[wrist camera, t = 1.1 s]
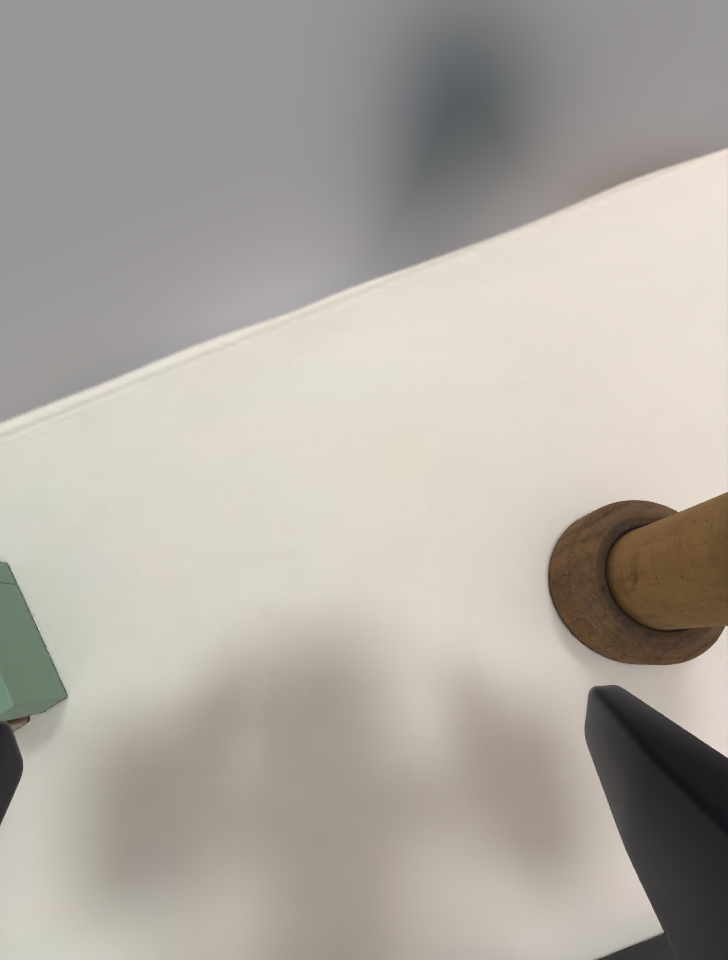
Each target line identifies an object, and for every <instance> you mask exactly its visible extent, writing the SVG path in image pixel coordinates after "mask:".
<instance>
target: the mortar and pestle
mask: <svg viewBox="0 0 728 960" xmlns="http://www.w3.org/2000/svg"><path fill="white" fill-rule="evenodd" d="M549 576H550V587H551V592H552V597H553V600H554V603H555V605H556V608H557V610H558V612H559V614H560V615H561V617H562V619H563V620H564V622H565V623H566V624H567V626H568V627H569V628H570V630H571V631H572V632H573V633H574V635H575V636H576V637H577V638H578V639H580V640H581V641H582V642H583V643H584V644H586V645H587V646H588V647H590V648H591V649H592V650H594V651H596V652H597V653H599V654H601V655H603V656H605V657H608V658H610V659H613V660H616V661H620V662H624V663H629V664H642V665H671V664H677V663H682V662H686V661H689V660H691V659H694V658H696V657H698V656H699V655H701V654H703V653H704V652H705V651H707V650H708V649H709V648H710V647H711V646H712V645H713V644H714V643H715V642H716V641H717V639H718V638H719V636H720V635H721V633H722V631H723V630H724V628H725V626H728V492H727V493H724V494H722V495H720V496H717V497H715V498H713V499H710V500H708V501H705V502H703V503H700V504H698V505H696V506H693V507H691V508H688V509H686V510H683V511H681V512H677V511H675V510H673V509H671V508H669V507H666V506H664V505H661V504H658V503H654V502H649V501H640V500H628V501H620V502H615V503H612V504H609V505H606V506H604V507H601V508H599V509H597V510H595V511H594V512H592V513H590V514H588V515H586V516H584V517H582V518H581V519H579V520H578V521H576V522H575V523H573V524H572V525H571V526H570V527H569V528H568V529H567V530H566V531H565V532H564V534H563V535H562V536H561V538H560V539H559V541H558V543H557V545H556V547H555V549H554V552H553V555H552V559H551V564H550V575H549Z"/></svg>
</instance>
